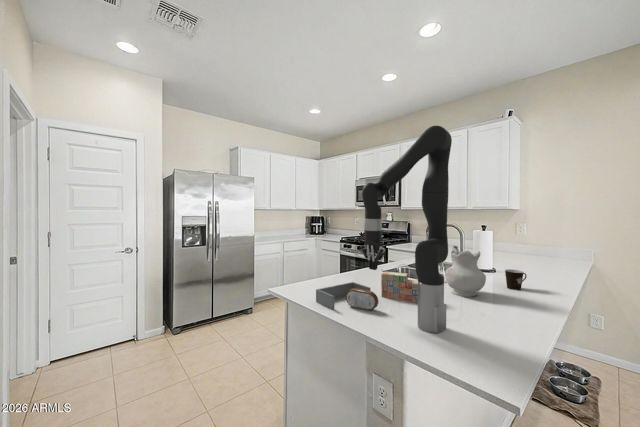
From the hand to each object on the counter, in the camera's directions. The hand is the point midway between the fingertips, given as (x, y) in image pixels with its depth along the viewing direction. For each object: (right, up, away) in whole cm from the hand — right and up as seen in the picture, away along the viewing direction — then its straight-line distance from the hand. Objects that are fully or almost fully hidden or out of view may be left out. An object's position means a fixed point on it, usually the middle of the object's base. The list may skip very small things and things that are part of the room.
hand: (372, 269), depth 117 cm
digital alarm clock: (-4, -19, +6) cm, 21 cm away
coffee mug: (+89, -19, +37) cm, 98 cm away
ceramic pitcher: (+54, -19, +29) cm, 64 cm away
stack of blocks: (+19, -19, +20) cm, 34 cm away
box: (-11, -19, +16) cm, 27 cm away
